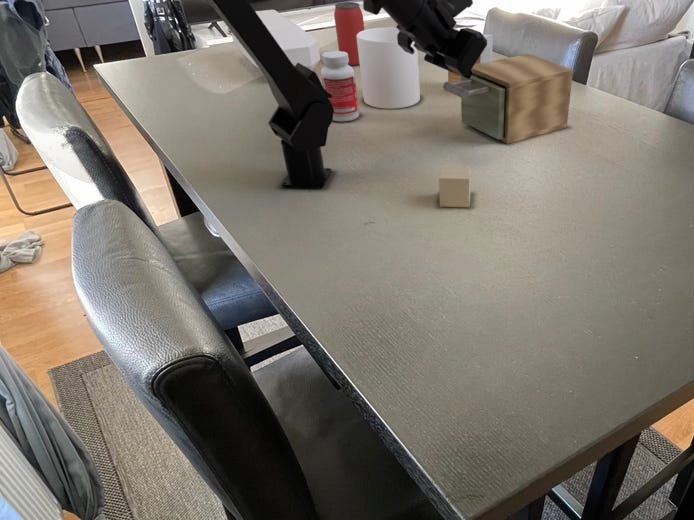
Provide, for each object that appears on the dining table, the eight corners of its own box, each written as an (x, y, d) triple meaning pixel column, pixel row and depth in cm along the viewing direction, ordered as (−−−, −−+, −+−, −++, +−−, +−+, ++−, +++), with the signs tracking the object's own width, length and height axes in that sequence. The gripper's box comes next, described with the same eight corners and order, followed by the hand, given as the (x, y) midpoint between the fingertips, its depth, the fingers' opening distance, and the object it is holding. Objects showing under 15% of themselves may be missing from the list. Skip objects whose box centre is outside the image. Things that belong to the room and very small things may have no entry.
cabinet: (507, 143, 105) (509, 83, 98) (466, 123, 113) (466, 65, 106) (566, 127, 112) (573, 69, 105) (524, 109, 119) (528, 53, 112)
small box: (447, 89, 127) (446, 34, 120) (460, 83, 131) (459, 29, 124) (480, 95, 125) (480, 40, 118) (491, 88, 128) (493, 34, 121)
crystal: (253, 37, 121) (222, 10, 138) (265, 87, 127) (234, 56, 145) (321, 29, 126) (283, 5, 144) (328, 78, 133) (291, 49, 150)
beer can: (337, 60, 143) (329, 2, 135) (363, 57, 145) (357, 0, 137) (344, 67, 139) (336, 8, 131) (371, 64, 141) (365, 6, 133)
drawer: (472, 146, 102) (472, 95, 96) (436, 127, 108) (434, 78, 103) (554, 124, 110) (559, 76, 104) (516, 107, 117) (518, 61, 111)
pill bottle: (364, 118, 114) (357, 55, 106) (335, 124, 111) (325, 60, 104) (351, 109, 118) (343, 47, 110) (322, 115, 115) (312, 52, 107)
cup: (367, 111, 117) (360, 43, 109) (360, 92, 125) (352, 28, 117) (425, 106, 119) (421, 40, 111) (414, 89, 128) (410, 25, 119)
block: (469, 207, 87) (469, 178, 84) (439, 206, 87) (438, 178, 84) (470, 194, 90) (470, 166, 87) (442, 193, 90) (441, 165, 87)
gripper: (477, -33, 81) (532, 45, 93) (407, -49, 92) (465, 22, 104) (432, 39, 83) (492, 106, 95) (369, 15, 94) (430, 78, 106)
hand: (469, 75), depth 100 cm, fingers closed
